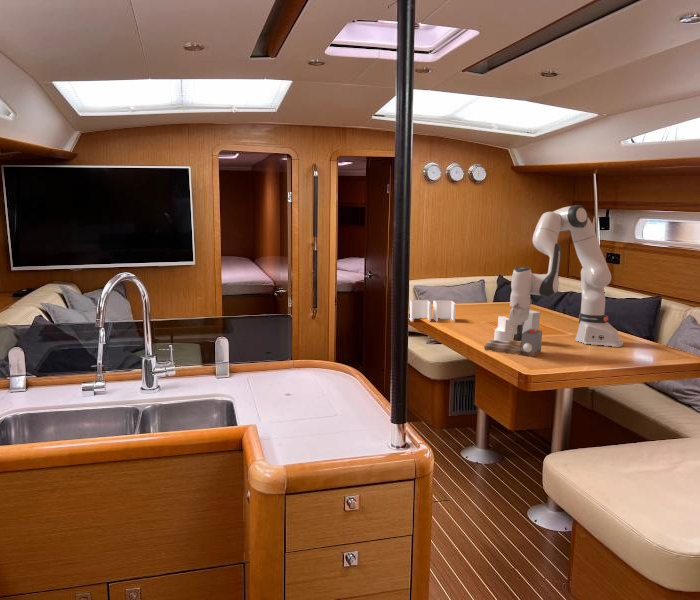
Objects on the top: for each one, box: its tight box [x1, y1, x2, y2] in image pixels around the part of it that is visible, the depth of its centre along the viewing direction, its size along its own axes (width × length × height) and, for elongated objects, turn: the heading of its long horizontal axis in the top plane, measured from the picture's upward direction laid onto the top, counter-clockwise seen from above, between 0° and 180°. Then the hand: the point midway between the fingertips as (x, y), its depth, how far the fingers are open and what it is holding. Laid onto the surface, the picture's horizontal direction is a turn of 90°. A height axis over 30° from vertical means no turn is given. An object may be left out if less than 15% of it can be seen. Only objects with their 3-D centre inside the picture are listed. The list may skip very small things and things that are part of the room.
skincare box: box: [522, 309, 541, 333], centre depth 309 cm, size 8×7×16 cm
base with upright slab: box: [493, 315, 514, 342], centre depth 308 cm, size 9×9×12 cm
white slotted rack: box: [408, 299, 457, 323], centre depth 360 cm, size 25×11×11 cm, turn 93°
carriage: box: [509, 325, 523, 347], centre depth 288 cm, size 5×8×9 cm, turn 149°
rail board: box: [483, 339, 542, 358], centre depth 290 cm, size 23×12×3 cm, turn 59°
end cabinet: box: [520, 330, 543, 357], centre depth 285 cm, size 6×12×10 cm, turn 149°
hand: (518, 332), depth 288 cm, fingers open, 8 cm apart
